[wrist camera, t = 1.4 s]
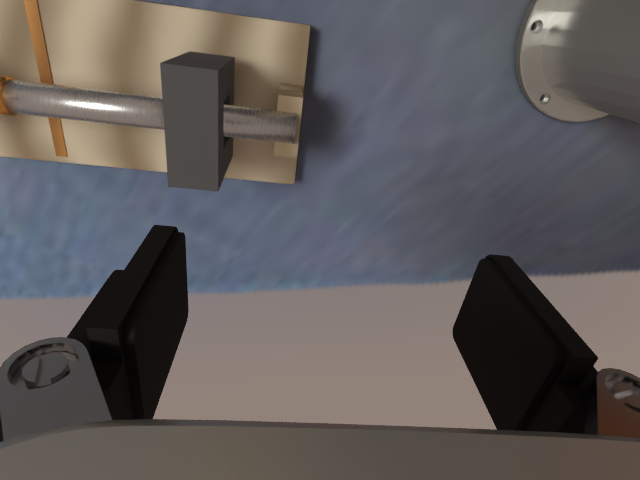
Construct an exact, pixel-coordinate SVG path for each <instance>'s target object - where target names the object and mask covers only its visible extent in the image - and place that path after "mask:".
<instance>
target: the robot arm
mask: <svg viewBox="0 0 640 480" xmlns="http://www.w3.org/2000/svg"><path fill="white" fill-rule="evenodd" d="M532 24H533V28H532V29H531V25H532ZM515 68H516V75H517V80H518V82H519V85H520V88H521V91H522V93H523V94H524V95H525V97H526V98H527V100H528V101H529V103H530V104H531V105H533V106H534V107H535V108H536V109H537V110H538V111H540V112H542V113H544V114H546V115H548V116H550V117H552V118H555V119H558V120H561V121H568V122H584V121H591V120H595V119H599V118H602V117H605V116H607V115H610V114H611V115H614V116H617V117H620V118H623V119H626V120H629V121H632V122H636V123H639V124H640V0H532V1H531V3H530V5H529V7H528V9H527V10H526V13H525V15H524V18H523V21H522V23H521V26H520V29H519V33H518V38H517V42H516V48H515ZM541 96H542V97H541ZM540 97H541V99H540ZM187 318H188V291H187V268H186V245H185V234H184V233H181V232H178V229H177V227H173V226H161V225H154V226H153V227H152V229H151V230H150V232H149V233H148V235H147V236H146V238H145V239H144V241H143V242H142V244H141V245H140V247H139V248H138V250H137V251H136V253H135V254H134V256H133V258H132V259H131V261H130V262H129V264H128V265H127V267H126V268H125V270H115V271H114V272H113V273H112V274H111V275H110V277H109V278H108V279H107V281H106V282H105V284H104V285H103V287H102V288H101V289H100V291H99V292H98V294H97V295H96V297H95V298H94V299H93V301H92V302H91V304H90V305H89V307H88V308H87V309H86V311H85V312H84V314H83V315H82V316H81V318H80V320H79V321H78V322H77V324H76V325H75V327H74V328H73V329H72V331H71V332H70V334H69V335H68V336H67V338H65V337H57V338H49V339H44V340H39V341H37V342H34V343H31V344H29V345H26V346H24V347H23V348H21V349H19V350H18V351H16V352H14V353H13V354H12V355H11V356H10V357H9V358H8V359H6V360H5V361H4V362H3V364H2V366H1V367H0V480H640V378H639V377H637V376H634V375H633V374H631V373H628V372H625V371H622V370H619V369H613V368H608V369H607V368H606V369H602V370H601V371H599V372H597V370H596V369H595V368H594V367H593V365H594V364H595V362H596V361H597V359H598V357H597V356H596V355H595V354H594V352H593V351H592V350H591V349H590V348H589V347H588V346H587V345H586V343H585V342H584V341H583V340H582V339H581V338H580V336H579V335H578V334H577V333H576V332H575V331H574V329H573V328H572V327H571V326H570V325H569V324H568V323H567V321H566V320H565V319H564V318H563V317H562V316H561V314H560V313H559V312H558V311H557V310H556V309H555V308H554V307H553V305H552V304H551V303H550V302H549V301H548V300H547V298H546V297H545V296H544V295H543V294H542V293H541V291H540V290H539V289H538V288H537V287H536V286H535V285H534V283H533V282H532V281H531V280H530V279H529V278H528V276H527V275H526V274H525V273H524V272H523V271H522V270H521V268H520V267H519V266H518V265H517V264H516V263H515V262H514V260H513V259H512V258H511V257H509V256H501V255H487V256H486V257H485V259H481V260H480V261H479V263H478V266H477V268H476V271H475V273H474V276H473V279H472V281H471V284H470V286H469V289H468V291H467V294H466V296H465V299H464V301H463V304H462V306H461V309H460V311H459V314H458V317H457V319H456V322H455V324H454V327H453V338H454V341H455V342H456V344H457V347H458V349H459V351H460V353H461V355H462V357H463V359H464V361H465V363H466V366H467V368H468V370H469V372H470V374H471V376H472V378H473V380H474V382H475V384H476V386H477V388H478V391H479V393H480V395H481V397H482V399H483V401H484V403H485V405H486V407H487V409H488V411H489V414H490V415H491V417H492V420H493V422H494V424H495V426H496V428H497V430H489V429H465V428H440V427H412V426H385V425H357V424H327V423H296V422H261V421H228V420H167V419H153V416H154V413H155V410H156V408H157V405H158V402H159V399H160V396H161V393H162V390H163V388H164V385H165V382H166V379H167V376H168V373H169V371H170V368H171V365H172V362H173V359H174V356H175V353H176V350H177V348H178V345H179V342H180V339H181V336H182V333H183V331H184V328H185V325H186V322H187Z"/></svg>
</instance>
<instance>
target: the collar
mask: <svg viewBox="0 0 640 480" xmlns="http://www.w3.org/2000/svg"><path fill="white" fill-rule="evenodd" d="M160 70H161V85H162V100H163V115H164V130H165V145H166V160H167V175H168V187H178V188H189V189H200V190H211V191H218V190H219V188H220V186H221V183H222V181H223V178H224V176H225V174H226V171H227V169H228V166H229V164H230V162H231V159H232V157H233V137H226V136H223V119H224V104H225V105H234V75H235V57H230V56H222V55H215V54H207V53H199V52H192V51H189V52H187V53H184V54H182V55H179V56H177V57H174V58H172V59H169V60H166V61H164V62H161V63H160Z"/></svg>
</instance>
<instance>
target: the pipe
mask: <svg viewBox="0 0 640 480" xmlns="http://www.w3.org/2000/svg"><path fill="white" fill-rule="evenodd" d="M19 114H23V115H32V116H42V117H51V118H60V119H69V120H79V121H88V122H97V123H106V124H115V125H125V126H134V127H143V128H152V129H162V130H164V115H163V100H162V97H157V96H149V95H140V94H132V93H123V92H115V91H106V90H97V89H89V88H80V87H72V86H63V85H55V84H46V83H38V82H29V81H21V80H16V79H15V78H13V77H9V76H0V115H9V116H17V115H19ZM296 122H297V113H291V112H282V111H276V110H268V109H259V108H251V107H242V106H234V105H225V104H224V119H223V136H226V137H235V138H245V139H254V140H263V141H272V142H282V143H291V144H294V142H295V133H296Z"/></svg>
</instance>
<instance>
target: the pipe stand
mask: <svg viewBox="0 0 640 480" xmlns="http://www.w3.org/2000/svg"><path fill="white" fill-rule="evenodd" d="M309 35H310V25H306V24H299V23H292V22H285V21H278V20H271V19H264V18H257V17H250V16H243V15H236V14H229V13H222V12H215V11H208V10H201V9H194V8H187V7H180V6H173V5H166V4H159V3H152V2H145V1H138V0H0V76H9V77H13V78H15V79H16V80H21V81H29V82H38V83H46V84H55V85H63V86H72V87H80V88H89V89H97V90H106V91H115V92H123V93H132V94H140V95H149V96H157V97H162V85H161V70H160V63H161V62H164V61H166V60H169V59H172V58H174V57H177V56H179V55H182V54H184V53H187V52H189V51H192V52H199V53H207V54H215V55H222V56H230V57H235V75H234V106H242V107H251V108H259V109H268V110H276V111H282V112H291V113H297V122H296V133H295V142H294V144H291V143H282V142H272V141H263V140H254V139H245V138H235V137H233V157H232V159H231V162H230V164H229V166H228V169H227V171H226V174H225V176H224V178H232V179H243V180H253V181H263V182H274V183H284V184H294V182H295V173H296V163H297V153H298V144H299V134H300V124H301V114H302V104H303V94H304V84H305V74H306V64H307V54H308V44H309ZM0 156H4V157H15V158H25V159H35V160H46V161H56V162H67V163H77V164H87V165H98V166H108V167H118V168H129V169H139V170H149V171H160V172H167V160H166V145H165V130H162V129H152V128H143V127H134V126H125V125H115V124H106V123H97V122H88V121H79V120H69V119H60V118H51V117H42V116H32V115H23V114H19V115H17V116H9V115H0Z"/></svg>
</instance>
